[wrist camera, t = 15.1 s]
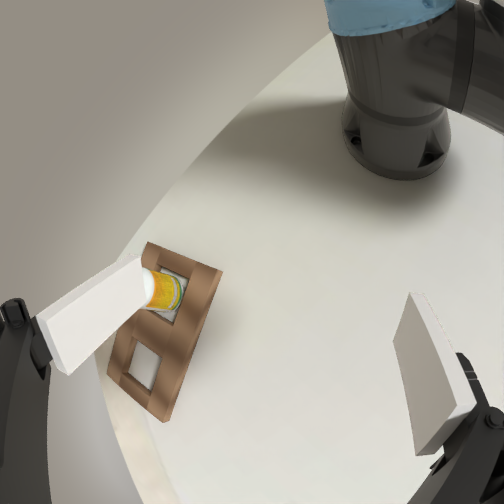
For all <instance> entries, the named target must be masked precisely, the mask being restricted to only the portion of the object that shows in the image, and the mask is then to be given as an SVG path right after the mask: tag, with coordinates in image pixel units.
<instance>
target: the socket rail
mask: <svg viewBox="0 0 504 504" xmlns="http://www.w3.org/2000/svg"><path fill="white" fill-rule="evenodd" d="M141 265H142V267H144V268H147V269H150V270H154V271H157V272H160V271H161V268H162V266H163V267H165V268H167V269H169V270H172V271H174V272H176V273H178V274H180V275H182V276H184V277H187V278H189V279H190V280H189V283H188V286H187V289H186V291H185V294H184V297H183V300H182V302H181V305H180V308H179V311H178V314H177V316H176V319H175V322H174V323H172V322H171V321H169V320H167V319H166V318H164V317H162V316H161V315H159V314H157V313H156V312H154V311H153V310H145V309H138V310H137V311H136V312H135V313H134V314H133V315H132V316H131V317H130V318H129V319H127V320H126V321H125V322H124V323H123V324H122V325H121V326H120V327H119V328H118V332H117V335H116V339H115V342H114V346H113V350H112V354H111V358H110V362H109V366H108V370H107V375H108V376H109V377H110V378H111V379H112V380H113V381H114V382H115V383H117V384H118V385H119V386H120V387H121V388H122V389H123V390H124V391H125V392H126V393H127V394H129V395H130V396H131V397H132V398H133V399H134V400H135V401H137V402H138V403H139V404H140V405H141V406H142V407H144V408H145V409H146V410H147V411H148V412H150V413H151V414H152V415H153V416H155V417H156V418H157V419H158V420H160V421H161V422H162V423H164V422H167V421H169V420H170V417H171V414H172V411H173V408H174V405H175V402H176V399H177V397H178V394H179V391H180V388H181V385H182V382H183V379H184V377H185V374H186V371H187V368H188V365H189V363H190V360H191V357H192V354H193V351H194V349H195V346H196V343H197V340H198V338H199V335H200V332H201V329H202V327H203V324H204V321H205V318H206V316H207V313H208V310H209V308H210V305H211V302H212V300H213V297H214V294H215V292H216V289H217V286H218V284H219V281H220V278H221V276H222V273H223V272H222V271H220V270H217V269H215V268H212V267H210V266H207V265H204V264H202V263H199V262H197V261H194V260H192V259H189V258H187V257H185V256H182V255H180V254H177V253H175V252H172V251H170V250H167V249H165V248H162V247H160V246H158V245H155V244H153V243H150V242H147V244H146V247H145V249H144V252H143V255H142V258H141ZM137 340H138V341H139V342H141V343H142V344H143V345H145V346H146V347H147V348H149V349H150V350H152V351H153V352H154V353H156V354H157V355H159V356H160V357H161V358H162V361H161V364H160V367H159V370H158V373H157V377H156V380H155V383H154V386H153V389H152V392H151V391H150V390H149V389H147V388H146V387H145V386H144V385H142V384H141V383H140V382H139V381H138V380H136V379H135V378H134V377H133V376H132V375H130V374H129V373H128V371H129V367H130V364H131V360H132V357H133V353H134V350H135V346H136V343H137Z"/></svg>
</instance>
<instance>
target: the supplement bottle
mask: <svg viewBox="0 0 504 504" xmlns="http://www.w3.org/2000/svg"><path fill="white" fill-rule="evenodd" d="M142 273H143V281H144V288H145V295H146V301H147V302H146V303H145V304H144V305H143V306H141V307H140V308H139V309H145V310H153V311H161V312H172V311H174V310H176V309H177V308H178V307H179V306H180V304H181V302H182V300H183V296H184V290H183V286H182V283H181V282H180V280H179V279H177V278H176V277H174V276H171V275H168V274H164V273H161V272H157V271H154V270H150V269H147V268H144V267H142Z"/></svg>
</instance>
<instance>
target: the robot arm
mask: <svg viewBox="0 0 504 504" xmlns="http://www.w3.org/2000/svg"><path fill="white" fill-rule="evenodd" d="M324 2H325V6H326V10H327V15H328V19H329V22H328V23H329V29H330V30H331V31H332V33H333V36H334V39H335V43H336V46H337V49H338V53H339V57H340V60H341V64H342V68H343V72H344V76H345V80H346V83H347V88H348V95H347V98H346V102H345V106H344V110H343V114H342V130H343V134H344V138H345V142H346V145H347V147H348V149H349V151H350V152H351V154H352V155H353V156H354V158H355V159H356V160H357V161H358V162H359V163H360V164H362V165H363V166H364V167H366V168H367V169H369V170H370V171H372V172H374V173H376V174H378V175H381V176H383V177H387V178H391V179H396V180H414V179H419V178H423V177H425V176H428V175H430V174H431V173H433V172H434V171H436V170H437V169H438V168H439V167H440V166H441V165H442V163H443V162H444V160H445V158H446V156H447V153H448V150H449V147H450V142H451V129H450V124H449V119H448V114H447V110H446V108H448V109H451V110H453V111H455V112H458V113H460V114H462V115H464V116H466V117H468V118H471V119H473V120H475V121H477V122H479V123H481V124H483V125H485V126H487V127H489V128H491V129H493V130H495V131H496V132H498V133H500V134H502V135H504V0H480V3H479V5H477V4H474V3H471V2H469V1H466V0H324ZM146 302H147V301H146V295H145V288H144V281H143V273H142V265H141V256H139V255H133V254H128V255H126V256H125V257H123V258H122V259H120V260H118V261H117V262H115V263H114V264H112V265H110V266H109V267H107V268H106V269H104V270H102V271H101V272H99V273H98V274H97V275H95V276H93V277H92V278H90V279H88V280H87V281H85V282H84V283H82V284H81V285H79V286H78V287H76V288H75V289H73V290H72V291H70V292H69V293H67V294H66V295H64V296H63V297H61V298H60V299H58V300H57V301H55V302H54V303H53V304H51V305H50V306H48V307H47V308H45V309H44V310H43V311H41V312H40V313H38V314H37V315H36V316H34V317H33V318H32V319H30V316H29V313H28V310H27V308H26V305H25V302H24V300H23V299H21V298H14V299H10V300H9V301H6V302H5V303H3V304H2V305H1V307H0V310H1V312H2V315H3V318H4V320H5V322H4V321H3V319H2V316H1V314H0V504H52V502H51V495H50V486H49V476H48V462H47V411H48V395H49V385H50V375H51V366H50V364H49V362H50V361H51V360H52V359H53V360H54V362H55V365H56V367H57V369H58V370H60V371H61V372H63V373H65V374H66V375H68V376H69V375H70V374H71V373H72V372H73V371H74V370H75V369H76V368H77V367H79V365H81V364H82V363H83V362H84V361H85V360H86V359H87V358H88V357H89V356H90V355H91V354H92V353H93V352H94V351H95V350H96V349H97V348H98V347H99V346H100V345H101V344H102V343H103V342H104V341H105V340H106V339H107V338H108V337H109V336H111V335H112V334H113V333H114V332H115V331H116V330H117V329H118V328H119V327H120V326H121V325H122V324H123V323H124V322H125V321H126V320H127V319H129V318H130V317H131V316H132V315H133V314H134V313H135V312H136V311H137V310H138V309H139V308H140V307H141V306H143V305H144V304H145V303H146ZM393 343H394V347H395V351H396V355H397V359H398V363H399V367H400V371H401V375H402V380H403V384H404V389H405V394H406V399H407V404H408V409H409V415H410V420H411V427H412V433H413V440H414V447H415V455H416V456H421V455H430V454H435V453H436V452H437V451H438V449H439V448H440V447H441V446H442V445H443V447H444V454H443V455H442V456H441V457H440V458H439V459H438V460H437V461H436V462H435V463H434V464H433V465H432V466H431V467H430V469H432V468H433V467H434V468H433V469H432V471H431V472H430V474H429V475H428V477H427V478H426V480H425V481H424V482H423V484H422V485H421V486H420V488H419V489H418V490H417V492H416V493H415V494H414V496H413V497H412V498H411V500H410V501H409V502H408V503H407V504H504V413H503V412H502V411H501V410H499V409H498V408H495V407H490V406H489V404H488V401H487V399H486V396H485V394H484V392H483V389H482V387H481V385H480V383H479V380H477V376H476V374H475V372H474V369H473V367H472V365H471V363H470V361H469V360H468V359H467V358H466V357H465V356H464V355H463V354H462V353H455V351H454V349H453V347H452V345H451V343H450V341H449V339H448V337H447V335H446V333H445V331H444V329H443V327H442V326H441V324H440V322H439V320H438V318H437V316H436V314H435V313H434V311H433V309H432V307H431V305H430V304H429V302H428V300H427V298H426V297H425V295H424V294H422V293H413V292H409V295H408V298H407V302H406V305H405V308H404V311H403V314H402V317H401V320H400V323H399V326H398V329H397V331H396V334H395V337H394V340H393Z"/></svg>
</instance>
